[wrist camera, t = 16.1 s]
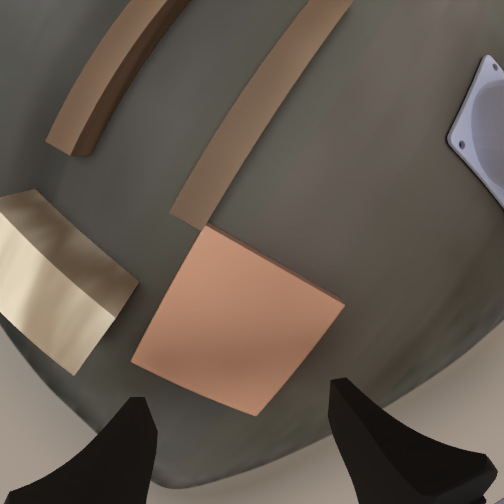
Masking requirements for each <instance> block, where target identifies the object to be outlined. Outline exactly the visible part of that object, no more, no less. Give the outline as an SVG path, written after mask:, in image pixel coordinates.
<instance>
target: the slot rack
mask: <svg viewBox="0 0 504 504" xmlns="http://www.w3.org/2000/svg"><path fill="white" fill-rule="evenodd" d="M190 1H191V0H131V1H130V2H129V4H128V5H127V6H126V7H125V9H124V10H123V11H122V13H121V14H120V15H119V17H118V18H117V19H116V21H115V22H114V23H113V25H112V26H111V28H110V29H109V30H108V32H107V33H106V35H105V36H104V38H103V39H102V40H101V42H100V43H99V45H98V46H97V48H96V49H95V51H94V53H93V54H92V56H91V57H90V59H89V60H88V62H87V64H86V65H85V67H84V69H83V70H82V72H81V74H80V75H79V77H78V79H77V80H76V82H75V84H74V86H73V87H72V89H71V91H70V93H69V95H68V97H67V98H66V100H65V102H64V104H63V106H62V108H61V110H60V112H59V114H58V116H57V118H56V120H55V122H54V124H53V126H52V128H51V130H50V133H49V135H48V137H47V139H46V142H47V143H49V144H51V145H52V146H54V147H56V148H58V149H59V150H61V151H63V152H64V153H66V154H68V155H70V156H80V155H91V154H92V152H93V150H94V148H95V146H96V144H97V142H98V140H99V138H100V136H101V134H102V132H103V130H104V129H105V127H106V125H107V123H108V121H109V119H110V118H111V116H112V114H113V112H114V110H115V109H116V107H117V105H118V104H119V102H120V100H121V98H122V97H123V95H124V93H125V92H126V90H127V89H128V87H129V85H130V84H131V82H132V81H133V79H134V77H135V76H136V74H137V73H138V71H139V70H140V68H141V67H142V65H143V64H144V62H145V61H146V59H147V58H148V56H149V55H150V53H151V52H152V50H153V49H154V48H155V46H156V45H157V43H158V42H159V41H160V39H161V38H162V36H163V35H164V34H165V32H166V31H167V30H168V28H169V27H170V26H171V24H172V23H173V22H174V21H175V19H176V18H177V17H178V15H179V14H180V13H181V12H182V10H183V9H184V8H185V7H186V6H187V4H188V3H189V2H190ZM353 1H354V0H310V1H309V2H308V3H307V4H306V6H305V7H304V8H303V9H302V11H301V12H300V13H299V14H298V16H297V17H296V18H295V19H294V21H293V22H292V23H291V25H290V26H289V27H288V29H287V30H286V31H285V33H284V34H283V35H282V37H281V38H280V39H279V41H278V42H277V43H276V45H275V46H274V47H273V49H272V50H271V51H270V53H269V54H268V56H267V57H266V58H265V60H264V61H263V63H262V64H261V65H260V67H259V68H258V70H257V71H256V72H255V74H254V75H253V77H252V78H251V80H250V81H249V83H248V84H247V86H246V87H245V88H244V90H243V91H242V93H241V94H240V96H239V97H238V99H237V100H236V102H235V103H234V105H233V106H232V108H231V110H230V111H229V113H228V114H227V116H226V117H225V119H224V120H223V122H222V123H221V125H220V127H219V128H218V130H217V131H216V133H215V135H214V136H213V138H212V139H211V141H210V143H209V144H208V146H207V148H206V149H205V151H204V152H203V154H202V156H201V157H200V159H199V161H198V162H197V164H196V166H195V168H194V169H193V171H192V173H191V174H190V176H189V178H188V179H187V181H186V183H185V185H184V186H183V188H182V190H181V192H180V193H179V195H178V197H177V199H176V201H175V202H174V204H173V206H172V208H171V210H170V211H169V213H170V214H172V215H174V216H175V217H177V218H179V219H181V220H182V221H184V222H186V223H188V224H189V225H191V226H193V227H195V228H196V229H198V230H200V231H202V230H203V228H204V227H205V225H206V223H207V222H208V220H209V218H210V216H211V215H212V213H213V211H214V210H215V208H216V206H217V205H218V203H219V201H220V200H221V198H222V196H223V195H224V193H225V191H226V190H227V188H228V186H229V185H230V183H231V181H232V180H233V178H234V177H235V175H236V173H237V172H238V170H239V168H240V167H241V165H242V164H243V162H244V160H245V159H246V157H247V156H248V154H249V152H250V151H251V149H252V148H253V146H254V145H255V143H256V141H257V140H258V138H259V137H260V135H261V134H262V132H263V130H264V129H265V127H266V126H267V124H268V123H269V121H270V120H271V118H272V117H273V115H274V113H275V112H276V110H277V109H278V107H279V106H280V104H281V103H282V101H283V100H284V98H285V97H286V95H287V94H288V92H289V91H290V89H291V88H292V86H293V85H294V83H295V82H296V80H297V79H298V78H299V76H300V75H301V73H302V72H303V70H304V69H305V67H306V66H307V64H308V63H309V62H310V60H311V59H312V57H313V56H314V54H315V53H316V52H317V50H318V49H319V47H320V46H321V44H322V43H323V42H324V40H325V39H326V37H327V36H328V35H329V33H330V32H331V30H332V29H333V28H334V26H335V25H336V24H337V22H338V21H339V19H340V18H341V17H342V15H343V14H344V13H345V11H346V10H347V9H348V7H349V6H350V5H351V3H352V2H353Z"/></svg>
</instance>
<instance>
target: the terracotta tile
mask: <svg viewBox="0 0 504 504" xmlns="http://www.w3.org/2000/svg"><path fill="white" fill-rule="evenodd" d="M344 306H345V304H344V303H343V302H342V300H341V299H340V298H339V297H337V296H335V295H333V294H332V293H330V292H328V291H326V290H325V289H323V288H321V287H320V286H318V285H316V284H314V283H313V282H311V281H309V280H307V279H306V278H304V277H302V276H300V275H299V274H297V273H295V272H294V271H292V270H290V269H288V268H287V267H285V266H283V265H281V264H280V263H278V262H276V261H274V260H273V259H271V258H269V257H268V256H266V255H264V254H262V253H261V252H259V251H257V250H255V249H254V248H252V247H250V246H248V245H247V244H245V243H243V242H241V241H240V240H238V239H236V238H235V237H233V236H231V235H229V234H228V233H226V232H224V231H222V230H221V229H219V228H217V227H215V226H214V225H212V224H210V223H208V222H207V223H206V225H205V227H204V228H203V230H202V231H200V233H199V235H198V236H197V238H196V240H195V242H194V243H193V245H192V247H191V249H190V250H189V252H188V254H187V256H186V257H185V259H184V261H183V263H182V264H181V266H180V268H179V270H178V272H177V273H176V275H175V277H174V279H173V281H172V282H171V284H170V286H169V288H168V290H167V292H166V293H165V295H164V297H163V299H162V301H161V303H160V305H159V306H158V308H157V310H156V312H155V314H154V316H153V318H152V320H151V321H150V323H149V325H148V327H147V329H146V331H145V333H144V335H143V337H142V339H141V341H140V343H139V345H138V346H137V348H136V350H135V352H134V355H133V357H132V359H131V362H132V363H134V364H136V365H138V366H140V367H142V368H144V369H146V370H148V371H150V372H152V373H154V374H156V375H158V376H160V377H162V378H165V379H167V380H169V381H171V382H173V383H175V384H177V385H180V386H182V387H184V388H186V389H189V390H191V391H193V392H195V393H198V394H200V395H202V396H205V397H207V398H210V399H212V400H214V401H217V402H219V403H222V404H224V405H227V406H230V407H232V408H235V409H237V410H240V411H243V412H245V413H248V414H251V415H254V416H257V415H258V414H259V412H260V411H261V410H262V409H263V408H264V407H265V406H266V405H267V403H268V402H269V401H270V400H271V399H272V398H273V396H274V395H275V394H276V393H277V392H278V391H279V389H280V388H281V387H282V386H283V385H284V383H285V382H286V381H287V380H288V379H289V377H290V376H291V375H292V374H293V373H294V371H295V370H296V369H297V368H298V366H299V365H300V364H301V363H302V361H303V360H304V359H305V358H306V356H307V355H308V354H309V353H310V351H311V350H312V349H313V348H314V346H315V345H316V344H317V342H318V341H319V340H320V338H321V337H322V336H323V335H324V333H325V332H326V331H327V329H328V328H329V327H330V325H331V324H332V323H333V321H334V320H335V318H336V317H337V316H338V314H339V313H340V312H341V310H342V309H343V308H344Z"/></svg>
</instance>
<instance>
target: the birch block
mask: <svg viewBox="0 0 504 504" xmlns="http://www.w3.org/2000/svg"><path fill="white" fill-rule="evenodd" d="M138 283H139V281H138V280H137V279H136V278H134V277H133V276H132V275H131V274H130V273H128V272H127V271H126V270H125V269H123V268H122V267H121V266H120V265H119V264H117V263H116V262H115V261H114V260H113V259H111V258H110V257H109V256H108V255H107V254H106V253H104V252H103V251H102V250H101V249H100V248H99V247H97V246H96V245H95V244H94V243H93V242H92V241H90V240H89V239H88V238H87V237H86V236H85V235H84V234H83V233H81V232H80V231H79V230H78V229H77V228H76V227H75V226H74V225H73V224H71V223H70V222H69V221H68V220H67V219H66V218H65V217H64V216H63V215H62V214H61V213H59V212H58V211H57V210H56V209H55V208H54V207H53V206H52V205H51V204H50V203H49V202H48V201H47V200H46V199H45V198H44V197H43V196H42V195H41V194H39V193H38V192H37V191H36V190H35V189H33V190H29V191H24V192H20V193H16V194H12V195H7V196H3V197H0V312H1V313H2V314H3V315H4V316H5V317H6V318H7V319H8V320H9V321H10V322H11V323H12V324H13V325H14V326H15V327H16V328H18V329H19V330H20V331H21V332H22V333H23V334H24V335H25V336H26V337H27V338H28V339H30V340H31V341H32V342H33V343H34V344H35V345H36V346H38V347H39V348H40V349H41V350H42V351H43V352H45V353H46V354H47V355H48V356H49V357H51V358H52V359H53V360H54V361H56V362H57V363H58V364H59V365H61V366H62V367H63V368H64V369H66V370H67V371H68V372H70V373H71V374H72V375H73V376H74V375H75V374H76V373H77V371H78V370H79V368H80V367H81V365H82V364H83V363H84V361H85V360H86V358H87V357H88V356H89V354H90V353H91V351H92V350H93V349H94V347H95V346H96V344H97V343H98V342H99V340H100V339H101V338H102V336H103V335H104V333H105V332H106V331H107V329H108V328H109V327H110V325H111V324H112V323H113V321H114V320H115V319H116V317H117V316H118V314H119V312H120V311H121V309H122V308H123V306H124V305H125V303H126V302H127V300H128V299H129V297H130V296H131V294H132V292H133V291H134V289H135V288H136V286H137V285H138Z"/></svg>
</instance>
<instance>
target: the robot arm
mask: <svg viewBox="0 0 504 504" xmlns="http://www.w3.org/2000/svg"><path fill="white" fill-rule="evenodd" d="M493 67H494V68H493ZM447 140H448V144H449V145H450V146H451V147H452V148H453V150H454V151H455V152H456V153H457V154H458V155H459V156H460V157H461V158H462V159H463V160H464V161H465V163H466V164H467V165H468V166H469V167H470V168H471V169H472V170H473V172H474V173H475V174H476V175H477V176H478V177H479V179H480V180H481V181H482V182H483V183H484V184H485V186H486V187H487V188H488V189H489V191H490V192H491V193H492V194H493V196H494V197H495V198H496V199H497V201H498V202H499V203H500V205H501V206H502V207H503V209H504V71H503V70H502V69H501V68H500V66H499V65H498V64H497V63H496V62H495V60H494V59H493V58H492V57H491V56H490V55H486V56H484V57H483V58H482V61H481V63H480V66H479V68H478V71H477V73H476V75H475V78H474V80H473V82H472V85H471V87H470V89H469V91H468V94H467V96H466V98H465V100H464V102H463V105H462V107H461V109H460V111H459V113H458V115H457V117H456V119H455V121H454V124H453V126H452V128H451V130H450V132H449V134H448V137H447ZM459 142H460V143H461V148H460V147H459ZM328 418H329V422H330V426H331V430H332V433H333V437H334V439H335V442H336V444H337V446H338V449H339V451H340V453H341V456H342V458H343V460H344V463H345V465H346V467H347V470H348V472H349V474H350V477H351V479H352V482H353V485H354V488H355V491H356V495H357V498H358V502H359V504H485V503H486V499H485V497H484V496H483V495H484V493H485V492H486V491H487V489H488V488H489V487H490V486H491V484H492V483H493V481H494V480H495V479H496V476H497V473H498V471H497V469H496V468H495V466H494V465H493V463H492V462H491V460H490V459H489V458H488V457H487V456H486V455H485V454H482V453H477V452H471V451H467V450H462V449H459V448H456V447H452V446H449V445H446V444H444V443H441V442H438V441H436V440H433V439H431V438H429V437H427V436H424V435H422V434H420V433H418V432H416V431H415V430H413V429H411V428H409V427H407V426H406V425H404V424H403V423H401V422H399V421H398V420H396V419H395V418H394V417H392V416H391V415H389V414H388V413H387V412H385V411H384V410H383V409H381V408H380V407H379V406H378V405H376V404H375V403H374V402H373V401H372V400H370V399H369V398H368V397H367V396H366V395H365V394H364V393H362V392H361V391H360V390H359V389H358V388H357V387H356V386H355V385H354V384H353V383H352V382H351V381H349V380H348V379H347V378H346V377H345V378H340V379H334V380H331V382H330V397H329V409H328ZM157 434H158V431H157V429H156V426H155V423H154V421H153V418H152V416H151V413H150V411H149V408H148V405H147V402H146V400H145V397H130V398H129V399H128V400H127V402H126V403H125V404H124V405H123V406H122V407H121V409H120V410H119V411H118V412H117V413H116V415H115V416H114V417H113V418H112V419H111V421H110V422H109V423H108V424H107V425H106V426H105V427H104V428H103V430H102V431H101V432H100V433H99V434H98V435H97V436H96V437H95V438H94V439H93V440H92V441H91V442H90V443H89V444H88V445H87V446H86V447H85V448H84V449H83V450H82V451H81V452H79V453H78V454H77V455H76V456H74V457H73V458H72V459H71V460H70V461H68V462H67V463H65V464H64V465H62V466H61V467H59V468H58V469H56V470H55V471H53V472H52V473H50V474H48V475H47V476H45V477H44V478H41V479H39V480H37V481H35V482H33V483H31V484H29V485H26V486H24V487H21V488H19V489H16V490H13V491H10V492H9V494H8V496H7V498H6V500H5V503H4V504H146V499H147V494H148V489H149V484H150V479H151V475H152V470H153V465H154V461H155V456H156V448H157ZM495 504H504V498H503V499H501V500H500V501H498V502H496V503H495Z"/></svg>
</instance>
